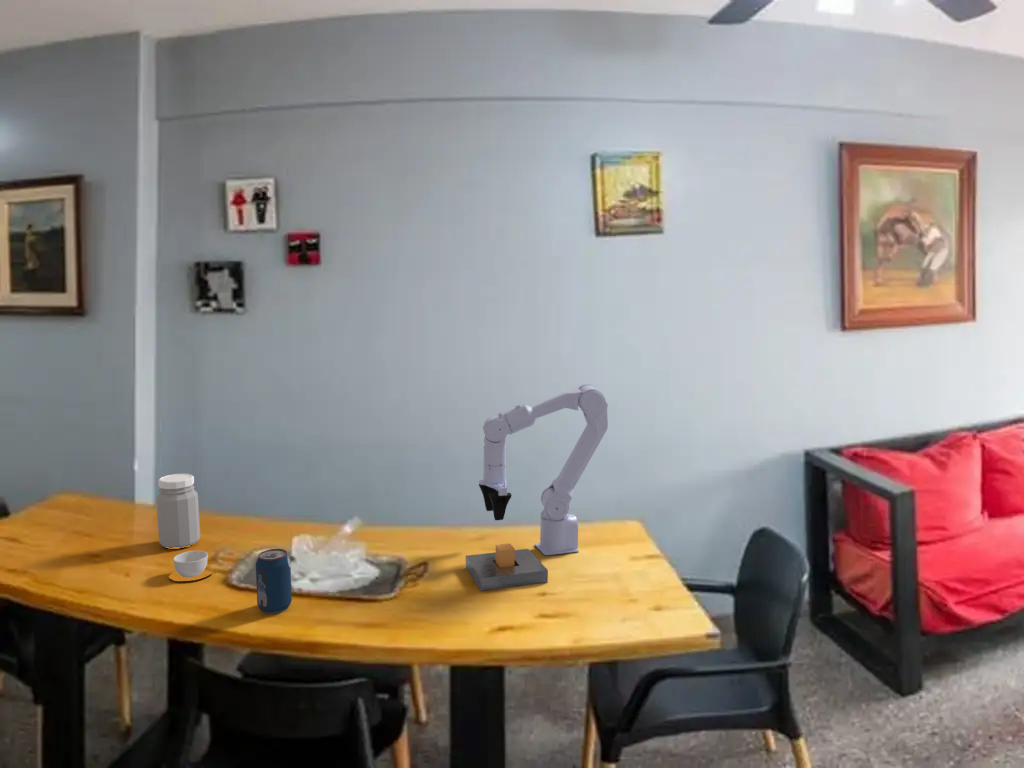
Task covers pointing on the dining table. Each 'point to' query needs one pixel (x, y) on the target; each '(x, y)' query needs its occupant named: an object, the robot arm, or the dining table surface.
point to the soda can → (273, 581)
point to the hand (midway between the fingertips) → (494, 515)
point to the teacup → (191, 563)
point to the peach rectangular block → (505, 555)
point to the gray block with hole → (506, 571)
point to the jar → (177, 511)
